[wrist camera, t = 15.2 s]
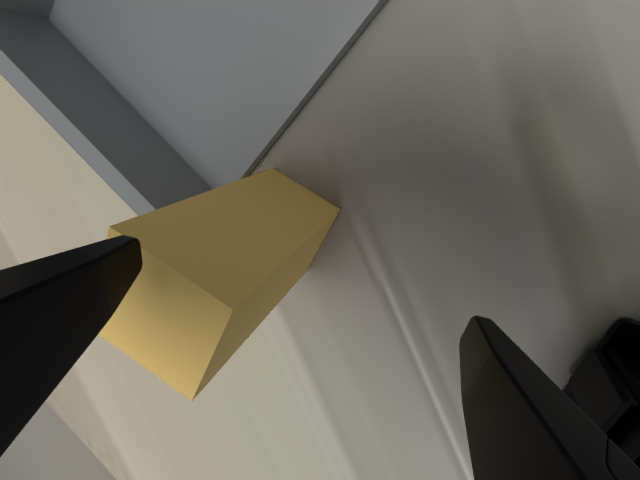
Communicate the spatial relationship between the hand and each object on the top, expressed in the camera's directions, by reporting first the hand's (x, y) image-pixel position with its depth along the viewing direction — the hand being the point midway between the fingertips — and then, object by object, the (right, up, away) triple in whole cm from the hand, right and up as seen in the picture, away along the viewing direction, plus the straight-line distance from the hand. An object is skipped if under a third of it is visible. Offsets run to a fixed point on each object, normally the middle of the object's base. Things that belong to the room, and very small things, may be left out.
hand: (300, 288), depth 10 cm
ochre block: (-1, +2, +14) cm, 14 cm away
